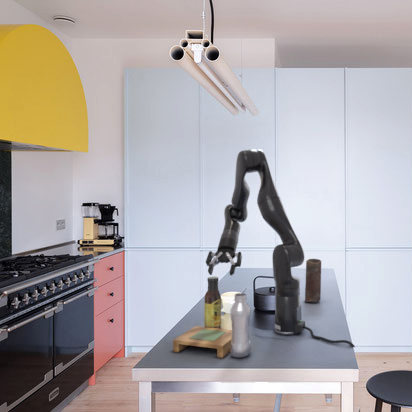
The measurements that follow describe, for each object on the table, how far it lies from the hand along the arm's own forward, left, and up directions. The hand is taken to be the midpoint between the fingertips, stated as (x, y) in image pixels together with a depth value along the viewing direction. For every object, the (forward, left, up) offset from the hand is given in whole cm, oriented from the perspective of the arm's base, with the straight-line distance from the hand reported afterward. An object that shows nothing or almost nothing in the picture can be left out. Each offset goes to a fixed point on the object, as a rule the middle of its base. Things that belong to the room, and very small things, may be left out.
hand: (220, 274), depth 167 cm
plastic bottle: (-22, +30, -19) cm, 42 cm away
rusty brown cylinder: (-29, -37, -19) cm, 51 cm away
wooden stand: (-9, +26, -19) cm, 33 cm away
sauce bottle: (-2, +10, -19) cm, 22 cm away
